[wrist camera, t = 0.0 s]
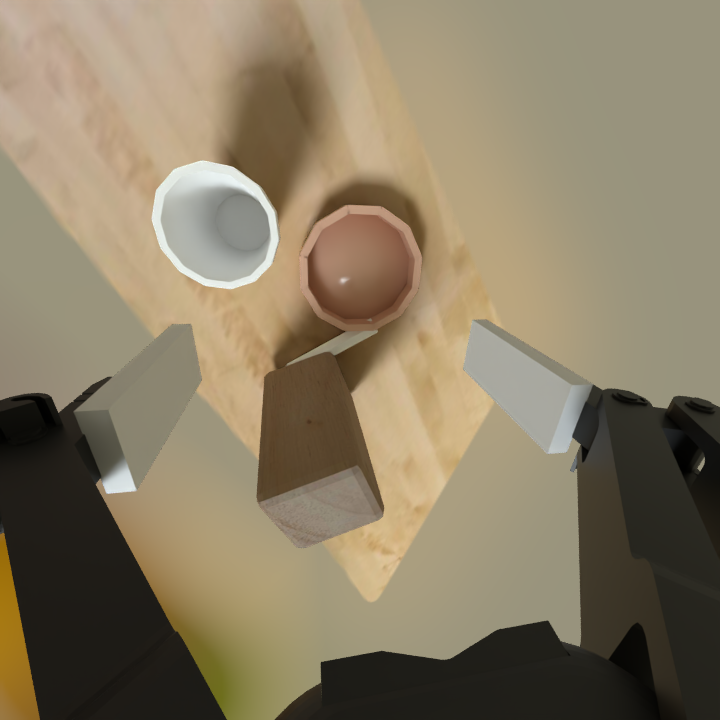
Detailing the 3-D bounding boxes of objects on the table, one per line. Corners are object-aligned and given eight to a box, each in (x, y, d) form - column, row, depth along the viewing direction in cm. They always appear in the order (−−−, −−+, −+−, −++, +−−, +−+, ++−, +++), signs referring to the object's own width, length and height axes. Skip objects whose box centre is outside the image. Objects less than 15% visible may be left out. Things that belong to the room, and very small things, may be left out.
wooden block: (330, 346, 44) (361, 464, 27) (352, 397, 49) (389, 520, 33) (261, 372, 44) (251, 506, 27) (291, 420, 49) (298, 555, 33)
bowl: (297, 203, 37) (296, 202, 34) (418, 208, 39) (427, 208, 37) (302, 324, 43) (302, 332, 40) (407, 322, 46) (414, 329, 43)
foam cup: (290, 262, 40) (285, 284, 28) (213, 268, 39) (174, 293, 27) (278, 174, 36) (266, 158, 24) (191, 178, 35) (134, 162, 23)
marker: (273, 370, 46) (371, 317, 45) (281, 383, 47) (378, 331, 45) (267, 374, 44) (370, 318, 42) (275, 387, 44) (378, 332, 42)
